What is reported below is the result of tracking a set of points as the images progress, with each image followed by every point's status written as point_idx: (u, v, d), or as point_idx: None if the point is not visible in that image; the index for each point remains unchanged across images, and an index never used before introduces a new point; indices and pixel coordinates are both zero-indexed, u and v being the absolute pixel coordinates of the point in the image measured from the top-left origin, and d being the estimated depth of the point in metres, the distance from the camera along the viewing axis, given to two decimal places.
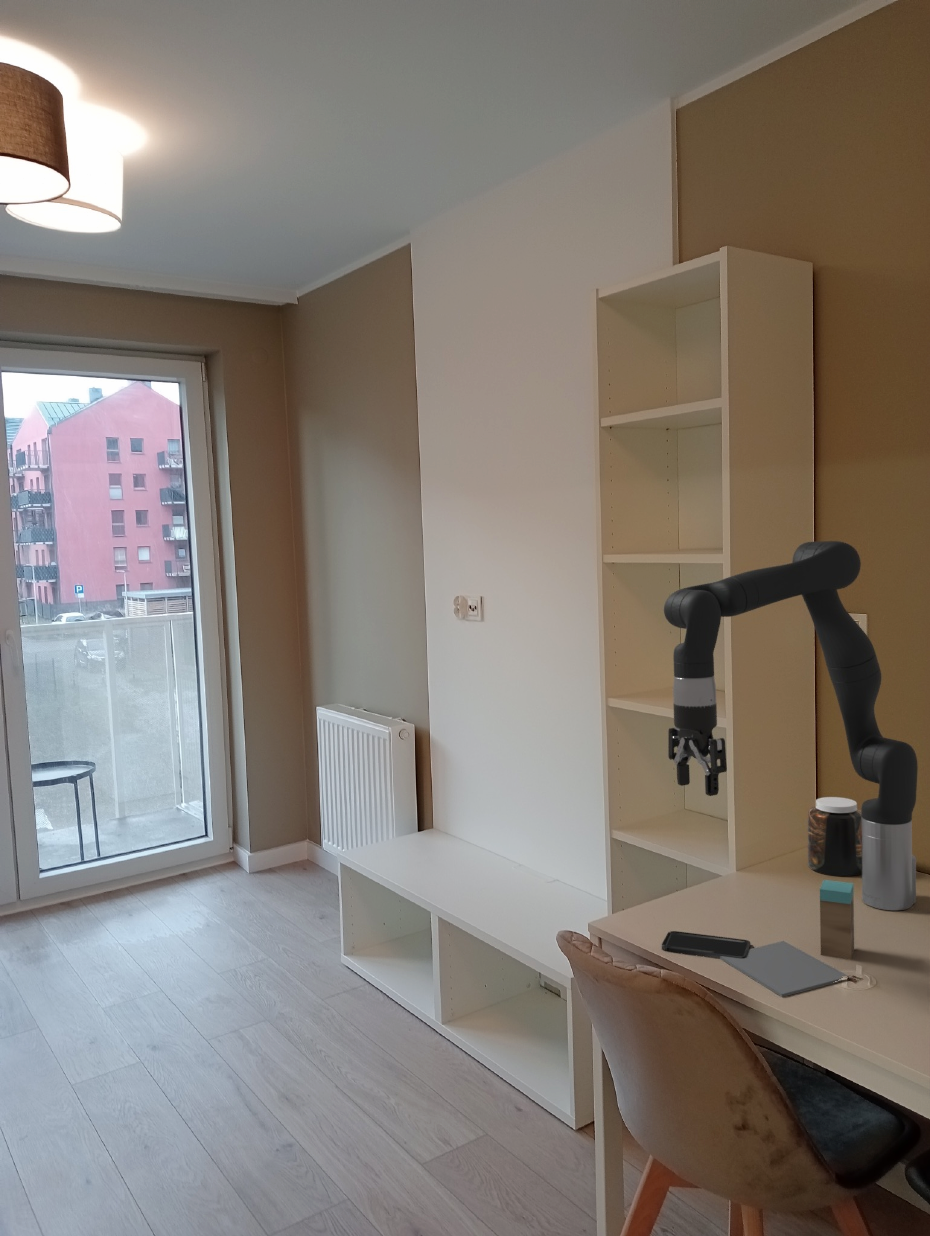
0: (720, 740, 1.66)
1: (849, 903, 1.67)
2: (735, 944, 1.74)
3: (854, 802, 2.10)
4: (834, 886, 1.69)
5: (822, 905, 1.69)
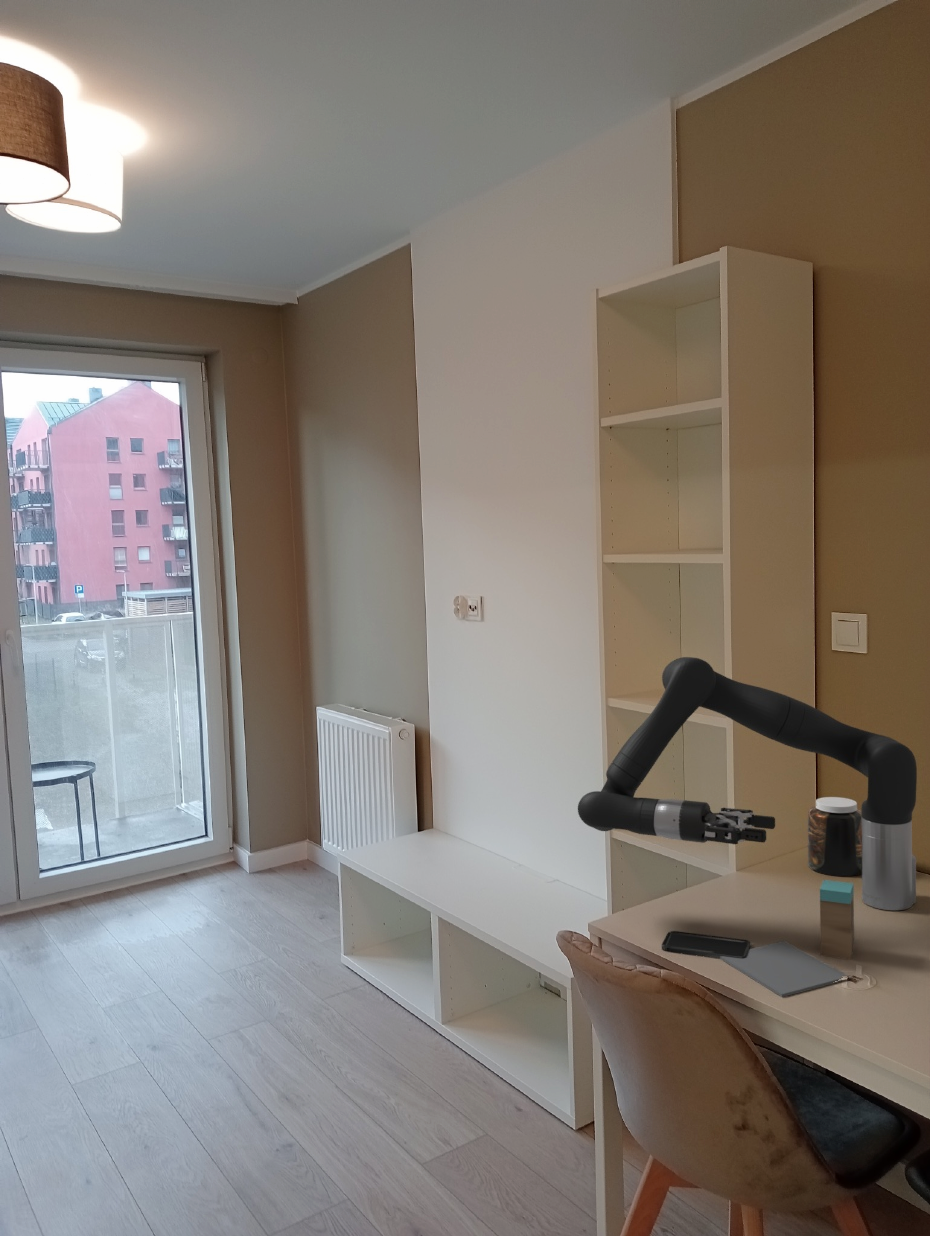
0: (706, 830, 1.73)
1: (849, 903, 1.67)
2: (735, 944, 1.74)
3: (854, 802, 2.10)
4: (834, 886, 1.69)
5: (822, 905, 1.69)
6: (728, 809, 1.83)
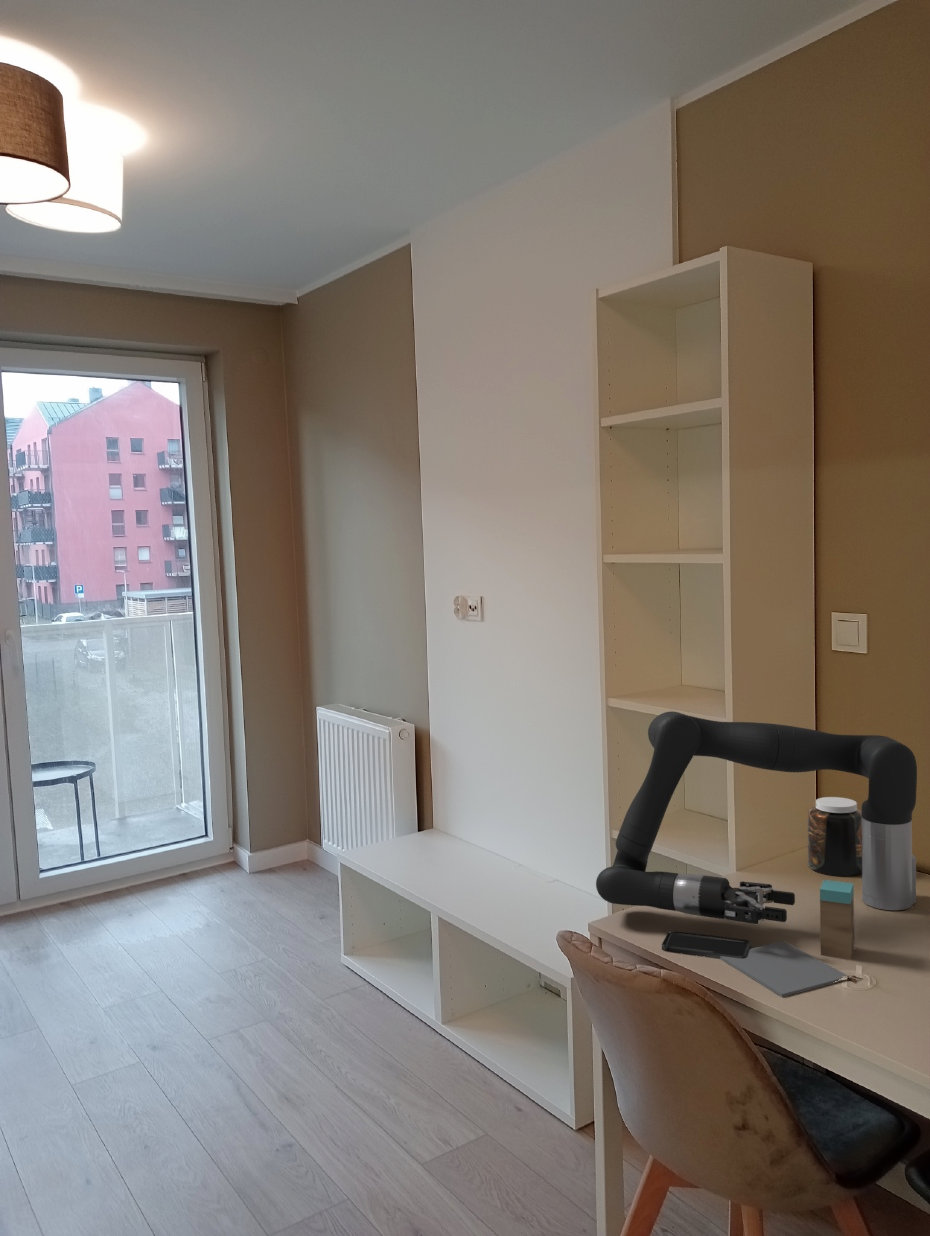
0: (726, 909, 1.73)
1: (849, 903, 1.67)
2: (735, 944, 1.74)
3: (854, 802, 2.10)
4: (834, 886, 1.69)
5: (822, 905, 1.69)
6: (747, 883, 1.83)
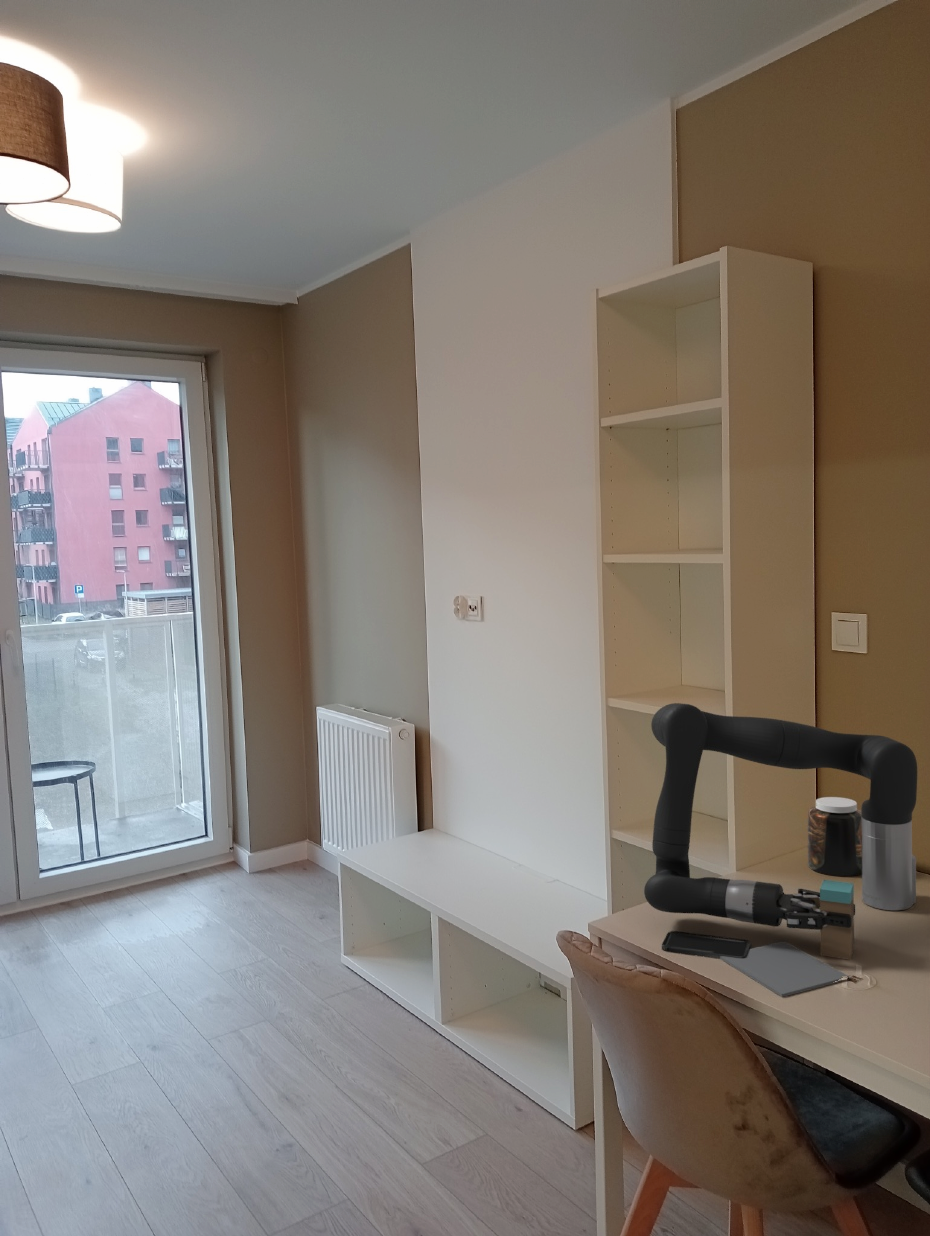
0: (788, 918, 1.68)
1: (849, 903, 1.67)
2: (735, 944, 1.74)
3: (854, 802, 2.10)
4: (834, 886, 1.69)
5: (822, 905, 1.69)
6: (805, 891, 1.78)
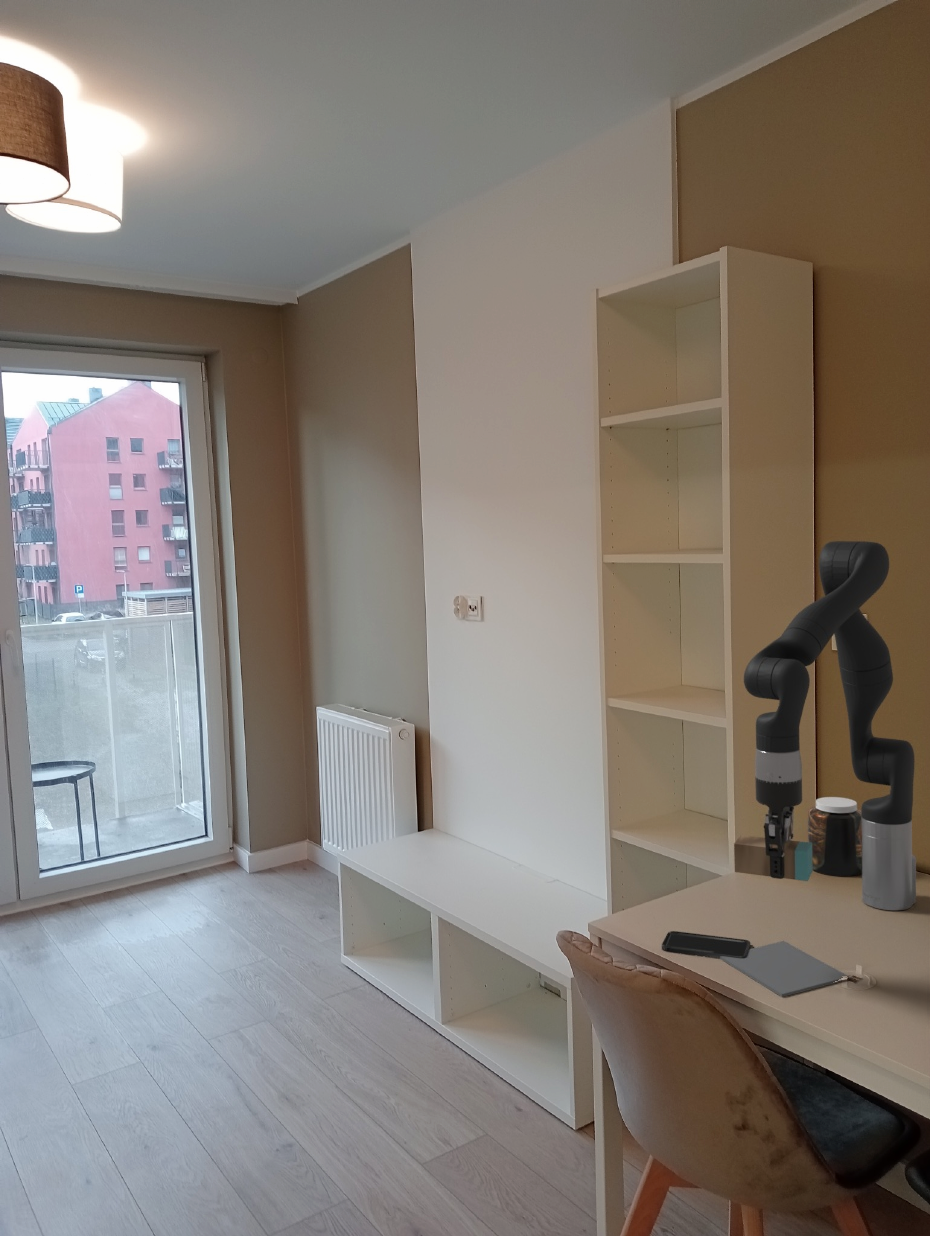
0: (775, 827, 1.57)
1: (795, 878, 1.60)
2: (735, 944, 1.74)
3: (854, 802, 2.10)
4: (809, 860, 1.61)
5: (788, 852, 1.60)
6: None
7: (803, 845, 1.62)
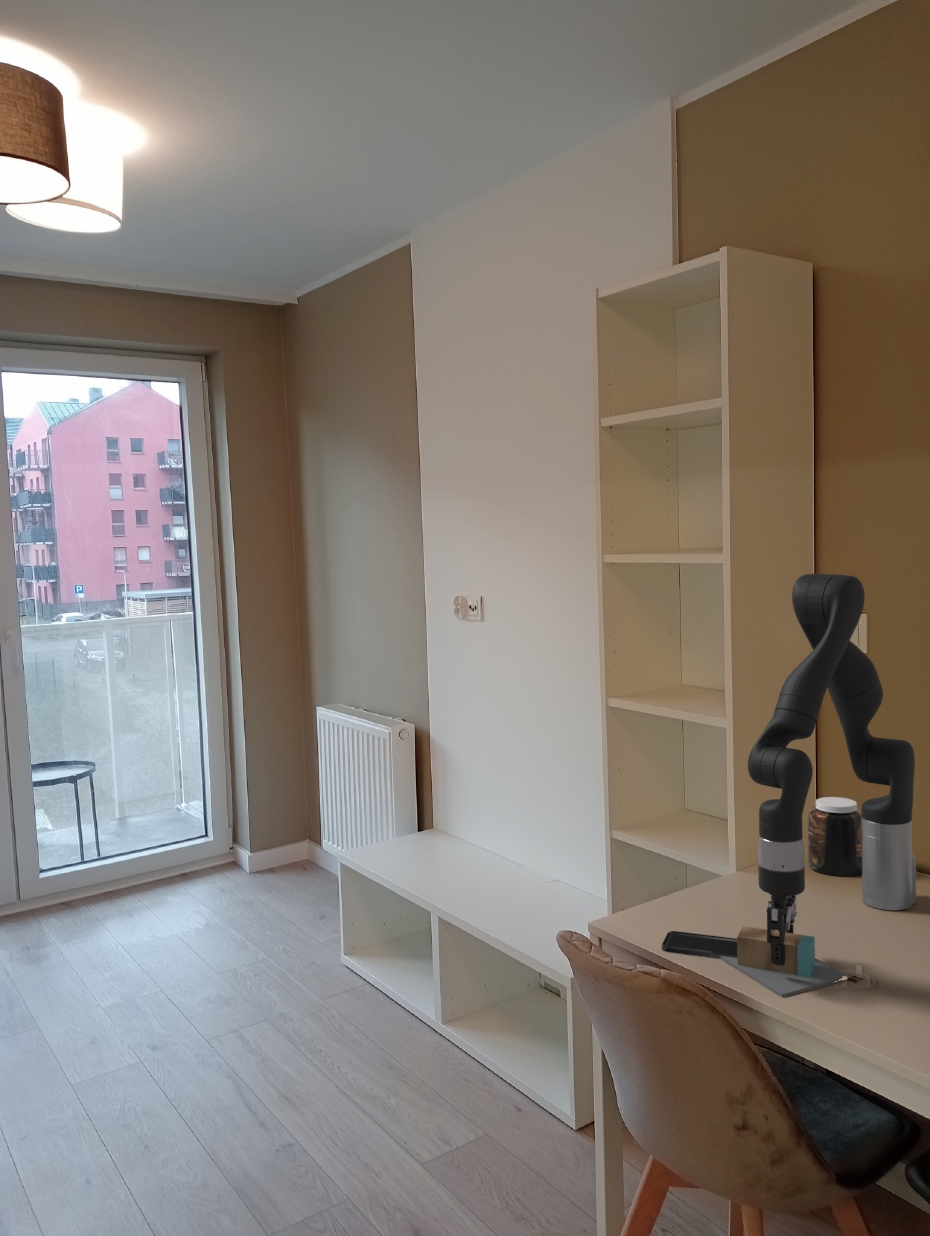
0: (777, 911, 1.58)
1: (798, 974, 1.61)
2: (735, 944, 1.74)
3: (854, 802, 2.10)
4: (812, 955, 1.62)
5: (791, 947, 1.61)
6: None
7: (806, 940, 1.63)
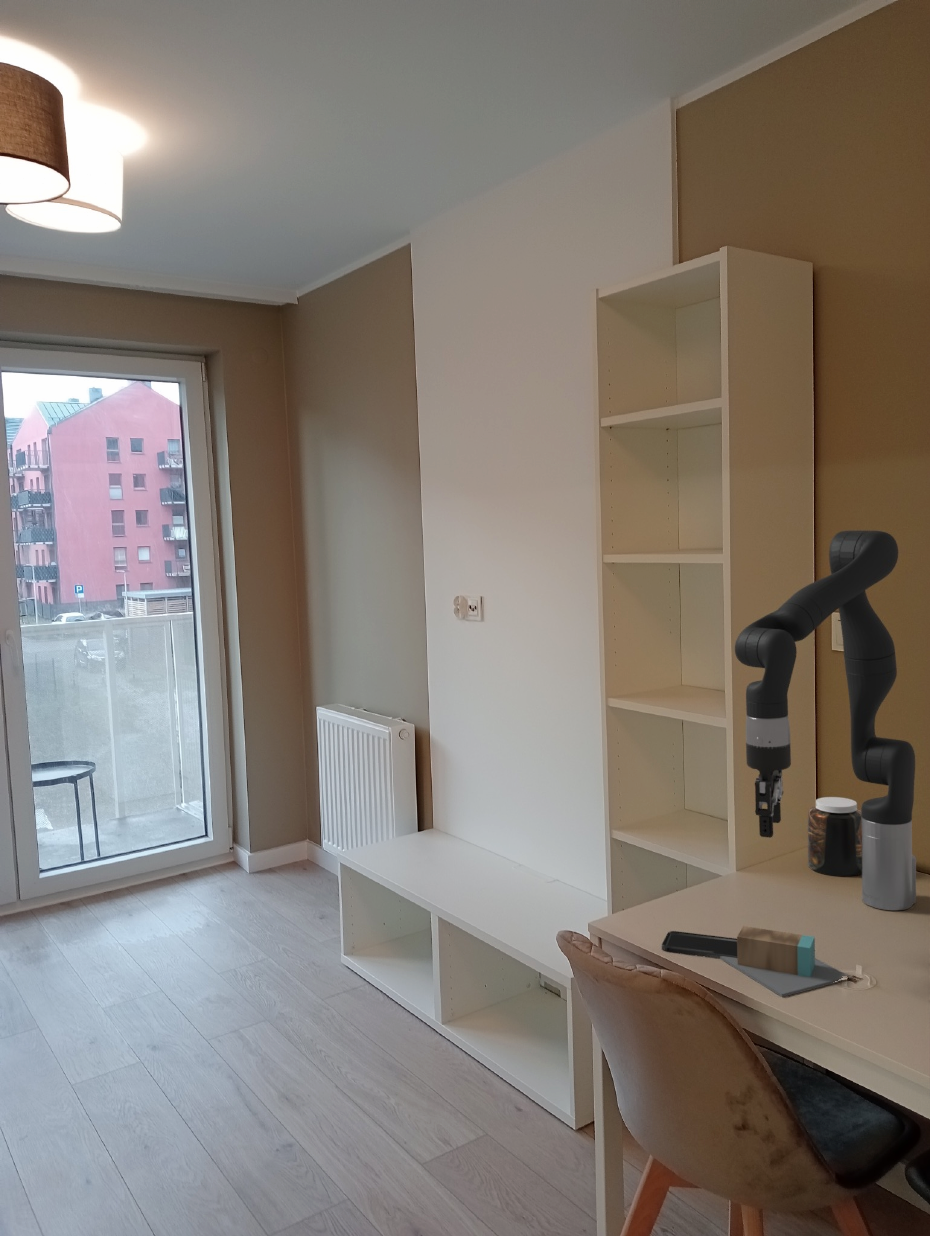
0: (765, 783, 1.64)
1: (798, 974, 1.61)
2: (735, 944, 1.74)
3: (854, 802, 2.10)
4: (812, 955, 1.62)
5: (791, 947, 1.61)
6: (781, 772, 1.75)
7: (806, 940, 1.63)
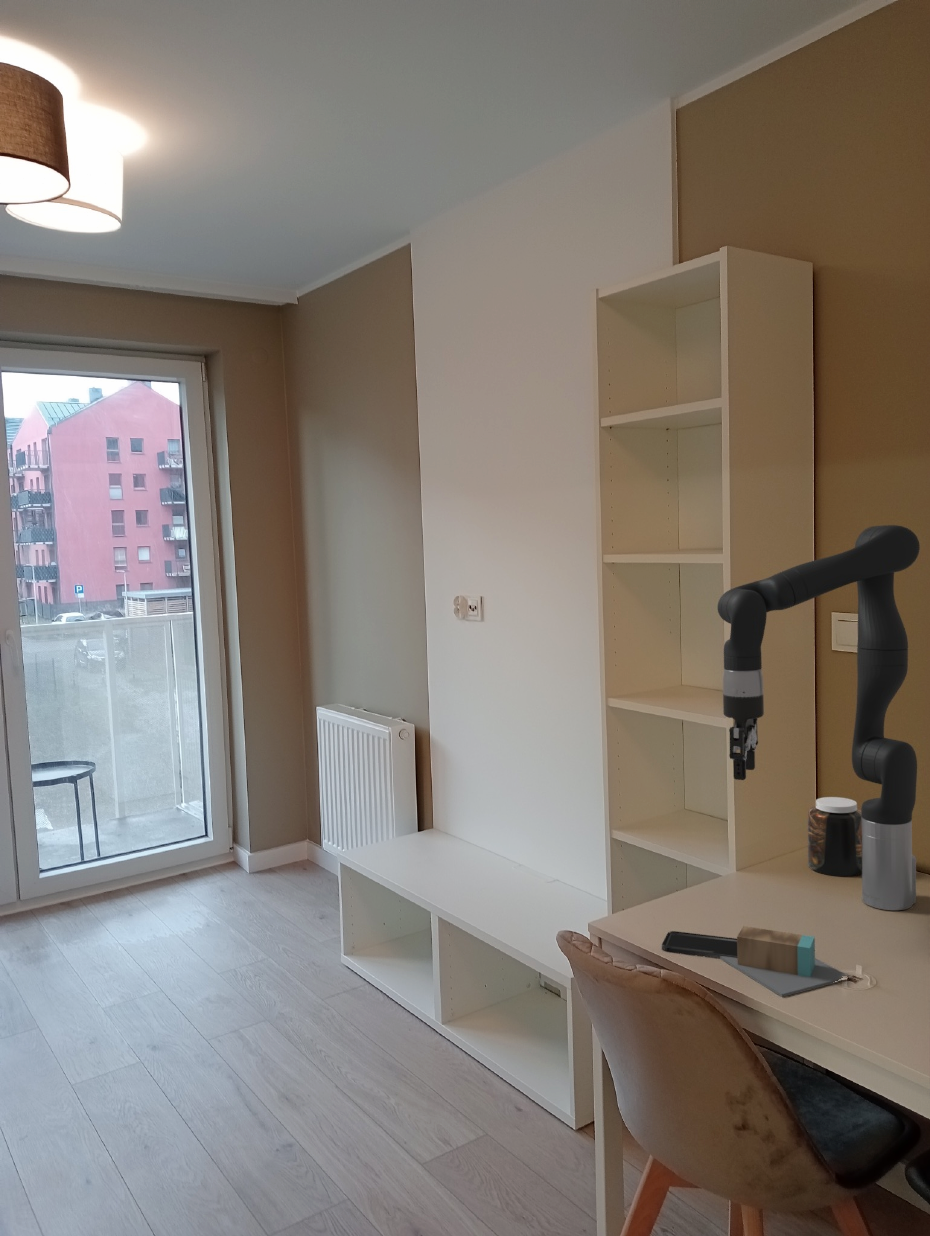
0: (739, 729, 1.80)
1: (798, 974, 1.61)
2: (735, 944, 1.74)
3: (854, 802, 2.10)
4: (812, 955, 1.62)
5: (791, 947, 1.61)
6: (756, 723, 1.91)
7: (806, 940, 1.63)
